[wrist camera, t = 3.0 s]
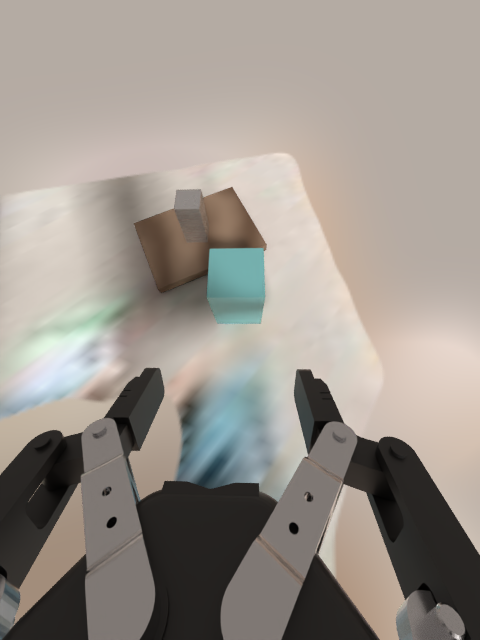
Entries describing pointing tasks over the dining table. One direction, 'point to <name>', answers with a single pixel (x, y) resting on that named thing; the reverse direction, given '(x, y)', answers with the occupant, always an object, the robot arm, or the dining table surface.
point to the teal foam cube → (236, 285)
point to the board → (193, 258)
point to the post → (192, 215)
